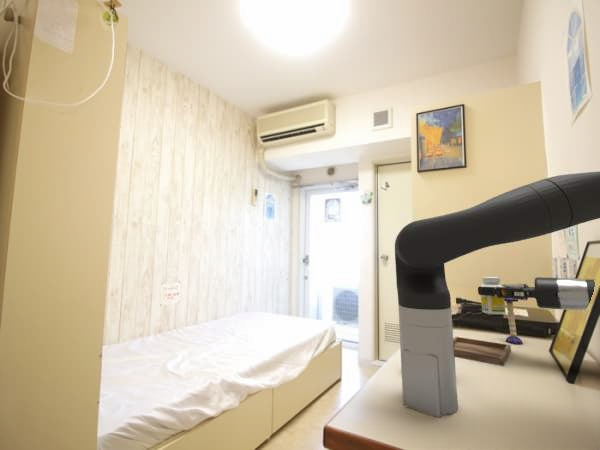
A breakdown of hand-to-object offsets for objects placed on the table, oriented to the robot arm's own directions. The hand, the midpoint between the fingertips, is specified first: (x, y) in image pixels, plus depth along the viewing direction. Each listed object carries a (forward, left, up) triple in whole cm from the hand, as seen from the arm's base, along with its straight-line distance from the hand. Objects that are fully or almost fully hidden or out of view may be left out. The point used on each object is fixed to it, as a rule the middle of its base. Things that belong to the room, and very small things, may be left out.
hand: (480, 289), depth 82 cm
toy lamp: (+19, -4, -18) cm, 26 cm away
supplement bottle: (0, -3, -6) cm, 7 cm away
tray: (0, +2, -17) cm, 17 cm away
